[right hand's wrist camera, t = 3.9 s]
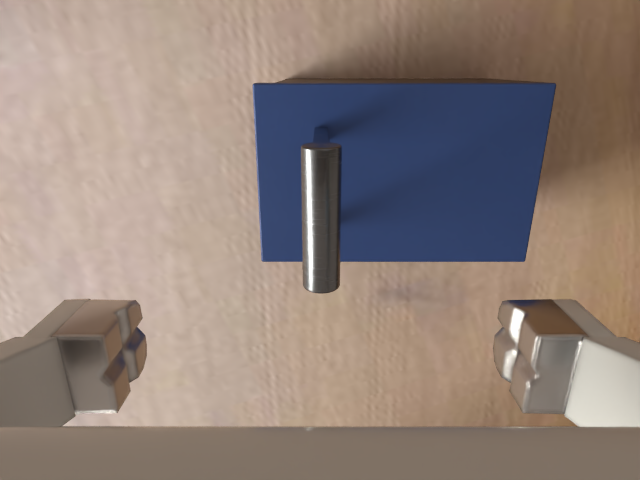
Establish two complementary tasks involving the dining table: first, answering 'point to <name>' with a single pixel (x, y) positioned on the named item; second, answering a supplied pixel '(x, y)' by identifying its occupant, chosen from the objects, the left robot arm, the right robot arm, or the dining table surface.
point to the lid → (397, 172)
